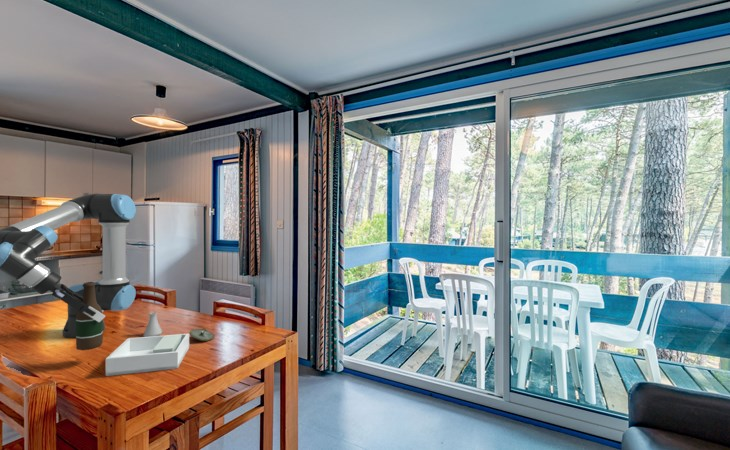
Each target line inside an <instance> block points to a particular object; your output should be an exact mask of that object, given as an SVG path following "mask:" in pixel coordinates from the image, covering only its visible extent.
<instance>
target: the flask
mask: <svg viewBox="0 0 730 450" xmlns="http://www.w3.org/2000/svg"><path fill="white" fill-rule="evenodd" d="M148 315H149V316H148V317H149V320H148V323H147V325H146V328H145V330H144V333H143V335H142V337H151V336H161V334H163V329H162V328H161V325H160V324H159V321H158V316H157V315H158V312H154V311H153V312H150V313H148Z"/></svg>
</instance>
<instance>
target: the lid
mask: <svg viewBox="0 0 730 450" xmlns="http://www.w3.org/2000/svg"><path fill="white" fill-rule="evenodd" d="M188 334H189V336H190V337H192V338H193V339H195V340H197V341H200V342H209V341H211V340H213V339H214V338H215V335H214V334H213V333H212V332H211V331H210V330H207V328H205V327H202V328H194V329H191V330H190V331H189V333H188Z"/></svg>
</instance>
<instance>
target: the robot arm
mask: <svg viewBox="0 0 730 450" xmlns="http://www.w3.org/2000/svg"><path fill="white" fill-rule="evenodd" d="M136 212H137V209H136V204H135V202H134V200H133V199H132V198H131V197H130V196H129V195H127V194H123V193H122V194H119V193H88V194H85V195H81V196H78V197H74V198H72V199H69V200H67V201H64V202H62V203H61V204H60V206H58V207H55V208H53V209H49V210H47V211H44V212H43V213H40V214H37V215H35V216H32V217H29V218H27V219H24V220H21V221H18V222H16V223H14V224H11V225H8V226H5V227H2V228H0V271H1V272H3V273H4V274H7V275H8V276H9V277H11V278H13V279H15V280H16V281H18V282H19V285H23V284H24V285H25V286H27V287H28V288H29V287H31V288H32V290H33V291H34V292H36V293H37V294H39V295H44V294H46V293H47V292H48V291H50V292H51V293H52V296H54V297H55V298H57V299H59V300H60V301H62V302H64V303H65V304H67V319H66V322H65V323H64V327H63V330H62V337H63V338H70V339H73V338H74V339H76V314H77V312H78V311H79V312H80V314H82V313H84V314H86V315H88V316H89V317H91V318H93V319H94V320H96V321H98V322H100V321H101V320H102V319H103V332H104V331H105V329H106V324H105V321H104V319H105V318H106V315H105V314H102V313H103V312H104V311H108V312H109V311H113V312H119V311H125V310H127V309H129V308H130V307H131V306H132V304H133V303H134V301H135V298H136V296H137V295H136V292H137V290H136V288H135V287H134V286H133V285H131V283H130V279H128V278H127V277H126V276H127V275H126V274H127V273H126V272H127V271H126V269H127V268H126V267H127V265H126V264H127V263H126V255H127V254H126V252H127V251H126V249H127V247H126V241H127V240H126V239H127V238H126V235H127V234H126V233H127V231H126V230H127V226H128V225H129V224H130V223H131V222H130V221H131V220H132V219H134V218H135V215H136V214H137V213H136ZM93 219H94V220H95V219H96V220H97V221H98V224H99V225H100V226H101V227H102V279H101V280H99V281H98V280H94V281H92V282H95V284H96V285H95V294H96V301H97V304H98V305H99V306H100V307H101V309H102V313H100V312H99V311H97V310H95V309H94V308H92V307H91V306H88V305H86V304H85V303H83V291H84V287H83V284H84V283H85V282H82V283H76V284H72V285H70V286H69V287H68V286H67V285H65V284H63V283H59V282H60V281H61V280H62V276H61V275H60V274H58V273H56V272H55V271H51V269H50V268H49V267H47V266H45V264H42V263H41V262H39V261H38V260H36V258H38V257H39V256H40V255H41V254H42V253H44V252H45V251H46V250H48V249H49V248H51V247H52V245H54V243H56V242H57V241H58V234H57V233H56V231H55V230H57V229H59V228H61V227H63V226H65V225H68V224H70V223H72V222H73V223H77V222H80V221H83V220H93ZM82 306H83V307H82ZM81 307H82V308H81Z"/></svg>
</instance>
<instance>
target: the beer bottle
mask: <svg viewBox="0 0 730 450" xmlns="http://www.w3.org/2000/svg"><path fill="white" fill-rule="evenodd" d="M83 283H84V284H83V287H84V291H83V303H85V304H86V305H88V306H91V307H92V308H94V309H95V310H97V311H99V312H100V313H102V314H103V312H102V309H101V307H100V306H99V305H98V304H97V301H96V294H95V285H96V284H95V282H93V281H88V282H83ZM82 307H83V306H82ZM82 307H81V308H82ZM103 315H104V314H103ZM103 321H104V318H103V319H102V320H101V321H100V322H98V321H96V320H94V319H93V318H91V317H89V316H88V315H86V314H84V313H82V314H80V312H79V311H78V312H77V314H76V338H75V343H76V344H75V346H76V350H79V351H89V350H93V349H96V348H99V347H101V346H102V345H103V342H104V341H103V340H104V331H103Z"/></svg>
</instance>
